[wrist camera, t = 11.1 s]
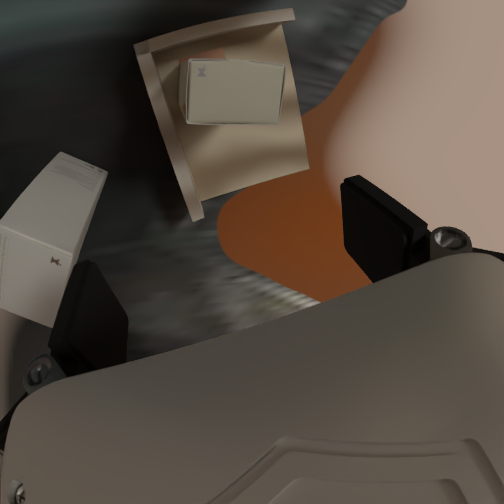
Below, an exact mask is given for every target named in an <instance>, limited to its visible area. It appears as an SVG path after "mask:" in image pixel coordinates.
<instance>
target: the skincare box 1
mask: <svg viewBox="0 0 504 504" xmlns="http://www.w3.org/2000/svg"><path fill="white" fill-rule="evenodd" d="M107 175H108V172H107V171H105V170H103V169H100V168H98V167H96V166H93V165H91V164H89V163H87V162H84V161H82V160H80V159H77V158H75V157H72V156H70V155H68V154H65V153H63V152H59V153H58V154H57V155H56V157H54V158H53V160H52V161H51V162H50V163H49V164H48V165H47V166H46V167H45V168H44V169H43V170H42V171H41V172H40V173H39V175H38V176H37V177H36V178H35V179H34V180H33V181H32V182H31V184H30V185H29V186H28V187H27V188H26V189H25V190H24V192H23V193H22V194H21V195H20V196H19V198H18V199H17V200H16V201H15V202H14V204H13V205H12V206H11V207H10V209H9V210H8V211H7V213H6V214H5V215H4V216H3V218H2V219H1V220H0V308H2V309H4V310H7V311H9V312H12V313H15V314H17V315H19V316H22V317H25V318H27V319H30V320H32V321H35V322H38V323H40V324H43V325H45V326H48V327H50V328H53V325H54V322H55V319H56V315H57V312H58V309H59V306H60V303H61V300H62V297H63V294H64V291H65V288H66V286H67V283H68V280H69V277H70V275H71V272H72V269H73V267H74V265H75V264H76V262H77V259H78V256H79V253H80V250H81V247H82V244H83V241H84V238H85V235H86V232H87V230H88V227H89V224H90V221H91V219H92V216H93V213H94V210H95V207H96V205H97V202H98V199H99V197H100V194H101V191H102V189H103V186H104V183H105V181H106V178H107Z"/></svg>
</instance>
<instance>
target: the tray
mask: <svg viewBox="0 0 504 504" xmlns="http://www.w3.org/2000/svg"><path fill="white" fill-rule="evenodd" d="M293 20H295V16H294V12H293V8H290V9H280V10H272V11H265V12H258V13H252V14H246V15H240V16H235V17H230V18H225V19H220V20H216V21H211V22H207V23H203V24H199V25H195V26H191V27H187V28H184V29H180V30H177V31H173V32H170V33H167V34H164V35H161V36H157V37H154V38H151V39H149V40H146V41H143V42H140V43H137V44H135V45H133V46H134V49H135V53H136V56H137V59H138V63H139V66H140V69H141V72H142V75H143V79H144V82H145V85H146V88H147V91H148V94H149V98H150V101H151V104H152V107H153V110H154V113H155V116H156V119H157V122H158V125H159V128H160V131H161V134H162V137H163V140H164V143H165V146H166V148H167V151H168V154H169V157H170V160H171V163H172V166H173V168H174V171H175V174H176V177H177V180H178V183H179V185H180V188H181V191H182V194H183V196H184V199H185V202H186V204H187V207H188V210H189V213H190V215H191V218H192V221H196V220H199V219H202V218H204V214H203V210H202V205H201V201H204V200H207V199H210V198H213V197H216V196H219V195H222V194H225V193H229V192H232V191H235V190H238V189H241V188H245V187H248V186H251V185H254V184H258V183H261V182H264V181H268V180H271V179H274V178H278V177H281V176H285V175H288V174H292V173H295V172H299V171H303V170H306V169H309V164H308V157H307V151H306V145H305V139H304V133H303V127H302V122H301V116H300V110H299V105H298V100H297V94H296V89H295V84H294V79H293V74H292V69H291V65H290V60H289V55H288V51H287V46H286V42H285V38H284V33H283V29H282V25H281V24H283V23H287V22H290V21H293ZM188 59H235V60H251V61H262V62H271V63H279V64H284V65H285V66H286V78H285V86H284V93H283V101H282V107H281V114H280V121H279V124H278V125H198V124H187V123H186V121H185V119H184V116H183V114H182V111H181V109H180V106H179V103H178V80H179V68H180V63H182V62H184V61H186V60H188Z"/></svg>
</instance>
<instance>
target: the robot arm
mask: <svg viewBox="0 0 504 504" xmlns="http://www.w3.org/2000/svg"><path fill="white" fill-rule="evenodd" d="M340 190H341V203H342V217H343V233H344V246H345V249H346V250H347V252H348V254H349V255H350V256H351V257H352V258H353V260H355V262H356V263H357V264H358V266H359V267H360V268H361V269H362V270H363V271H364V273H365V274H366V275H367V276H368V277H369V279H370V280H371V281H372V282H373V284H370V285H367V286H365V287H362V288H360V289H357V290H355V291H352V292H349V293H347V294H344V295H341V296H339V297H336V298H333V299H331V300H328V301H325V302H322V303H320V304H317V305H314V306H311V307H308V308H306V309H303V310H300V311H297V312H294V313H291V314H288V315H285V316H282V317H280V318H277V319H274V320H271V321H268V322H265V323H262V324H258V325H255V326H252V327H249V328H246V329H243V330H240V331H237V332H234V333H230V334H227V335H224V336H221V337H217V338H214V339H211V340H207V341H204V342H201V343H197V344H194V345H190V346H187V347H183V348H180V349H176V350H173V351H169V352H165V353H162V354H158V355H154V356H151V357H147V358H143V359H139V360H136V361H132V362H128V363H126V353H127V336H128V317H127V314H126V312H125V311H124V309H123V308H122V306H121V305H120V303H119V301H118V300H117V298H116V297H115V295H114V293H113V292H112V290H111V288H110V287H109V285H108V283H107V282H106V280H105V278H104V277H103V275H102V273H101V272H100V270H99V268H98V266H97V265H96V263H95V262H92V263H91V262H90V261H89V260H86V261H83V262H80V263H78V264H75V265H74V267H73V269H72V272H71V275H70V277H69V280H68V283H67V286H66V288H65V291H64V294H63V297H62V300H61V303H60V306H59V309H58V312H57V315H56V319H55V322H54V325H53V328H52V332H51V336H50V339H49V343H48V346H49V348H50V349H51V354H50V355H49V354H42V355H40V356H38V357H36V358H35V359H33V360H32V361H31V363H30V364H29V365H28V367H27V369H26V370H25V373H24V379H23V382H24V386H25V388H26V390H27V392H26V393H25V394H24V395H23V396H22V397H21V398H20V400H19V401H18V402H17V403H16V404H15V405H14V406H13V407H12V409H11V410H10V411H9V412H8V414H7V415H6V416H5V417H4V418H3V419H2V420H1V421H0V504H504V254H503V253H499V252H493V251H488V250H483V249H478V248H473V247H472V243H471V240H470V237H469V236H468V235H467V234H466V233H465V232H463V231H461V230H459V229H457V228H454V227H438V228H436V229H435V230H433V231H432V232H430V231H429V230H428V229H427V226H428V224H427V223H426V222H425V221H423V220H422V219H421V218H419V217H418V216H417V215H415V214H414V213H413V212H411V211H410V210H409V209H407V208H406V207H405V206H403V205H402V204H400V203H399V202H398V201H396V200H395V199H394V198H392V197H391V196H389V195H388V194H387V193H385V192H384V191H382V190H381V189H379V188H378V187H377V186H375V185H374V184H372V183H371V182H369V181H368V180H366V179H365V178H363V177H362V176H360V175H356V176H352V177H349V178H345V179H344V183H342V184H341V185H340Z"/></svg>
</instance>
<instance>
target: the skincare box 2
mask: <svg viewBox="0 0 504 504" xmlns="http://www.w3.org/2000/svg"><path fill="white" fill-rule="evenodd" d="M285 78H286V66H285V65H284V64H279V63H271V62H262V61H251V60H235V59H188V60H186V61H184V62H182V63H180V68H179V80H178V103H179V106H180V109H181V111H182V114H183V116H184V119H185V121H186V123H187V124H198V125H278V124H279V121H280V114H281V107H282V101H283V93H284V86H285Z"/></svg>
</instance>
